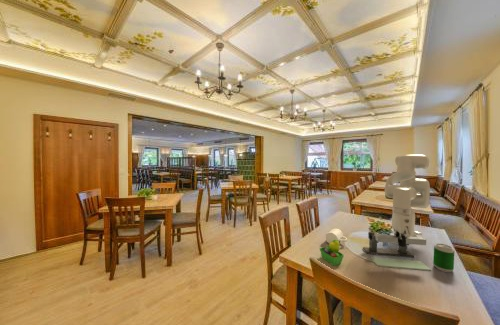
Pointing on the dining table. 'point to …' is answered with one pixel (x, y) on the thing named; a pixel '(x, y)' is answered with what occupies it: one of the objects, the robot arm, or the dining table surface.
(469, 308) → the dining table surface
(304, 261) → the dining table surface
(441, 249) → the soda can
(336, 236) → the mug
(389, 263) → the mat
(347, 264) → the dining table surface
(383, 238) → the rail
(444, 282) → the dining table surface
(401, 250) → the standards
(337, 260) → the fruit basket
